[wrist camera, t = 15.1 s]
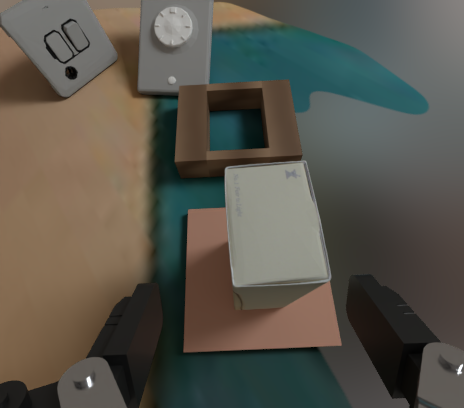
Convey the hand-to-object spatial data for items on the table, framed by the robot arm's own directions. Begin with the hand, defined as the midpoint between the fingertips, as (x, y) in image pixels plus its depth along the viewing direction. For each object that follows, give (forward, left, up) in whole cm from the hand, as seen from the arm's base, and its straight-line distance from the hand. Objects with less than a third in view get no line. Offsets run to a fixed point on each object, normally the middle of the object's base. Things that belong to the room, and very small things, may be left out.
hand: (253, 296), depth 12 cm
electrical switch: (-20, +31, -13) cm, 39 cm away
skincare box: (+1, +3, -12) cm, 12 cm away
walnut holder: (0, +19, -13) cm, 23 cm away
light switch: (-7, +32, -13) cm, 35 cm away
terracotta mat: (+1, +4, -13) cm, 13 cm away
